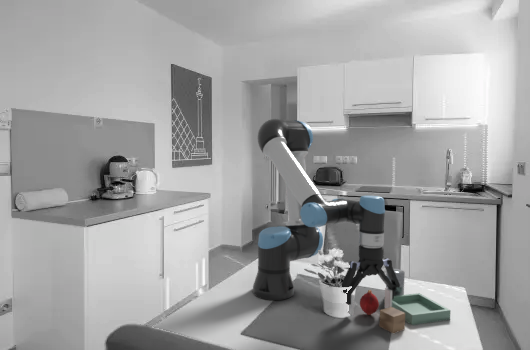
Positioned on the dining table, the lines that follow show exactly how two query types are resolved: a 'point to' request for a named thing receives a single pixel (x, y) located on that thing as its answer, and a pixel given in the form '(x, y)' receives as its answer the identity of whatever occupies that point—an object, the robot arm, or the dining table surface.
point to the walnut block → (392, 320)
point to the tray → (420, 308)
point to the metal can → (400, 277)
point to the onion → (369, 303)
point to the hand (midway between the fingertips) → (369, 311)
